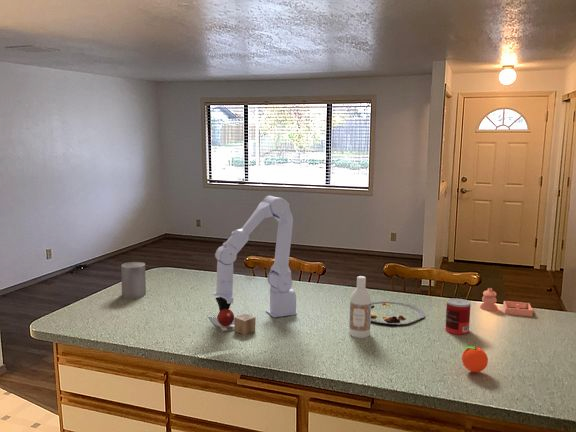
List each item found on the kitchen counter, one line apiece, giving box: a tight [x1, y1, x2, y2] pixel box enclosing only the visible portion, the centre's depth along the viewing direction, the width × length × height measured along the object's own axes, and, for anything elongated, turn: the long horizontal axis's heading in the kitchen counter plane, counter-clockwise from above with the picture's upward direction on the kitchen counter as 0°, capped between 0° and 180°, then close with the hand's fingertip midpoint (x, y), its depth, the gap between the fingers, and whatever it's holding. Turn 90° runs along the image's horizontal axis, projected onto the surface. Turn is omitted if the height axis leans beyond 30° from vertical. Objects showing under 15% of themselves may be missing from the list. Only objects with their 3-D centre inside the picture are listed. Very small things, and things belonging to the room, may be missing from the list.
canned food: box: [445, 297, 471, 336], centre depth 171 cm, size 8×8×11 cm
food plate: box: [371, 300, 426, 326], centre depth 188 cm, size 25×23×4 cm
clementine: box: [458, 346, 489, 373], centre depth 142 cm, size 8×7×7 cm
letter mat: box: [207, 315, 235, 333], centre depth 180 cm, size 11×18×1 cm, turn 24°
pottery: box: [479, 287, 534, 318], centre depth 191 cm, size 18×10×10 cm, turn 72°
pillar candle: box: [120, 261, 147, 299], centre depth 209 cm, size 10×10×15 cm
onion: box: [216, 308, 235, 326], centre depth 175 cm, size 6×6×8 cm
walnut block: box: [233, 313, 257, 336], centre depth 171 cm, size 5×5×5 cm
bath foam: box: [348, 275, 372, 339], centre depth 168 cm, size 7×7×20 cm
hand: (223, 317), depth 179 cm, fingers closed, pressing on onion
